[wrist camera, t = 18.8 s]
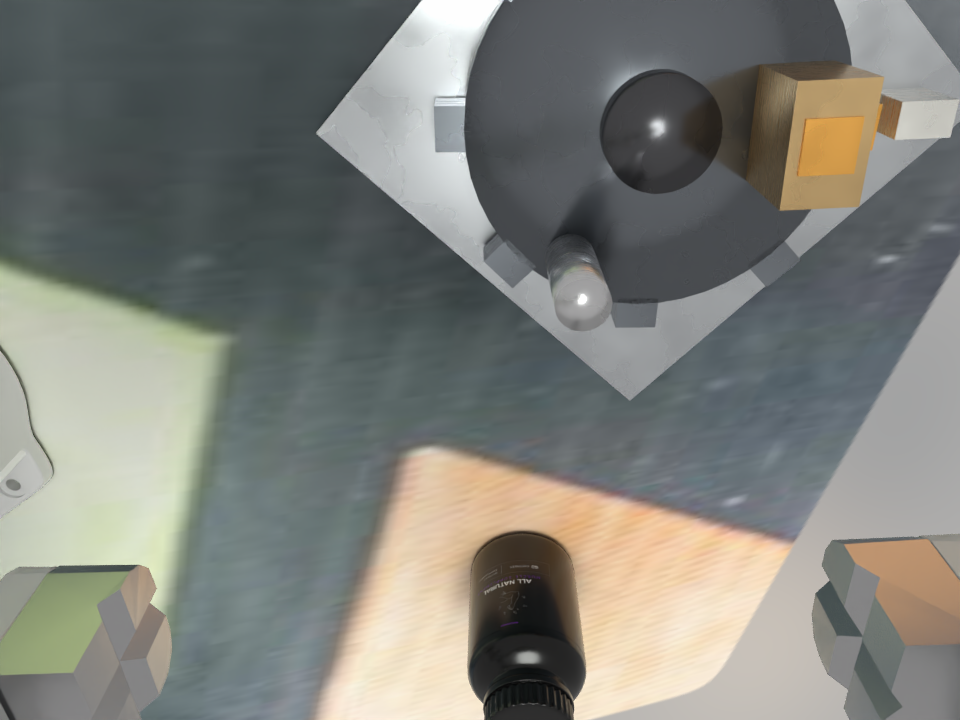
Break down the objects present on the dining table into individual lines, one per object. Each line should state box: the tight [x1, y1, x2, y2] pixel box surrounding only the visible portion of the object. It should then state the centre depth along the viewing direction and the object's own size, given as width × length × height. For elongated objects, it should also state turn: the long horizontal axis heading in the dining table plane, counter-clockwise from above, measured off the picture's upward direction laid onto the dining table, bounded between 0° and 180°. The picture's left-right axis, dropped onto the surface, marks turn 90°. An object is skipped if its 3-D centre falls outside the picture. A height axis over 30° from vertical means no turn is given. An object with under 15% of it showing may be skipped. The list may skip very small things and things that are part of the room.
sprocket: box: [434, 0, 883, 331], centre depth 32 cm, size 20×20×8 cm
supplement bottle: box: [468, 534, 586, 720], centre depth 46 cm, size 7×7×12 cm
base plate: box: [316, 0, 960, 400], centre depth 35 cm, size 22×22×4 cm
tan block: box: [746, 60, 884, 211], centre depth 32 cm, size 5×3×5 cm, turn 3°
